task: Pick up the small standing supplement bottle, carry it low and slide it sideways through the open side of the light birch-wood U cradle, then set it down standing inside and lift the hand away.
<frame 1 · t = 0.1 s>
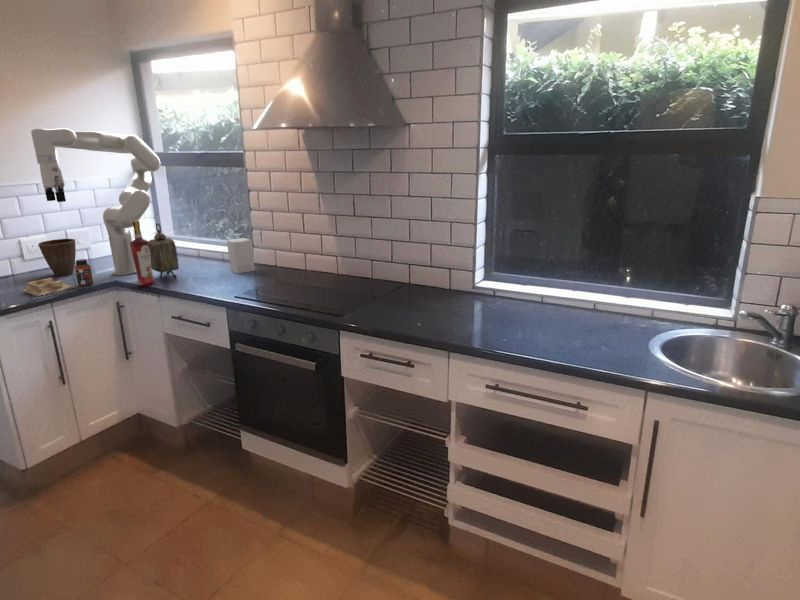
hand: (56, 201, 226), 37 cm above the worktop, tool pointing down, fingers open, 9 cm apart
liquor: (146, 285, 231), on the worktop
cradle: (48, 290, 227), on the worktop
tabletop clock: (165, 278, 243), on the worktop
supplement box: (242, 271, 252), on the worktop
plant pot: (64, 274, 255), on the worktop
supplement bottle: (86, 285, 234), on the worktop
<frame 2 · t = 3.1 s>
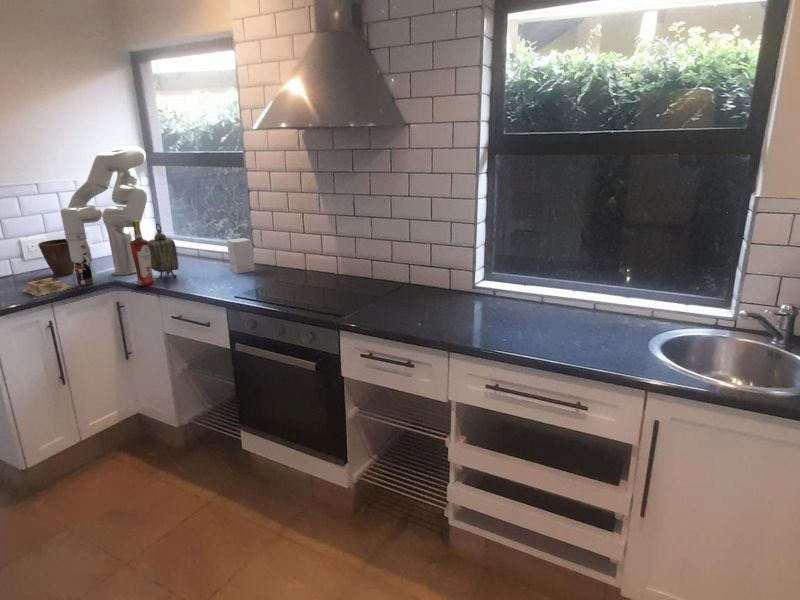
hand: (84, 277, 233), 4 cm above the worktop, tool pointing down, fingers closed on supplement bottle, 6 cm apart
supplement bottle: (86, 285, 234), on the worktop, touching gripper
everything else where it was.
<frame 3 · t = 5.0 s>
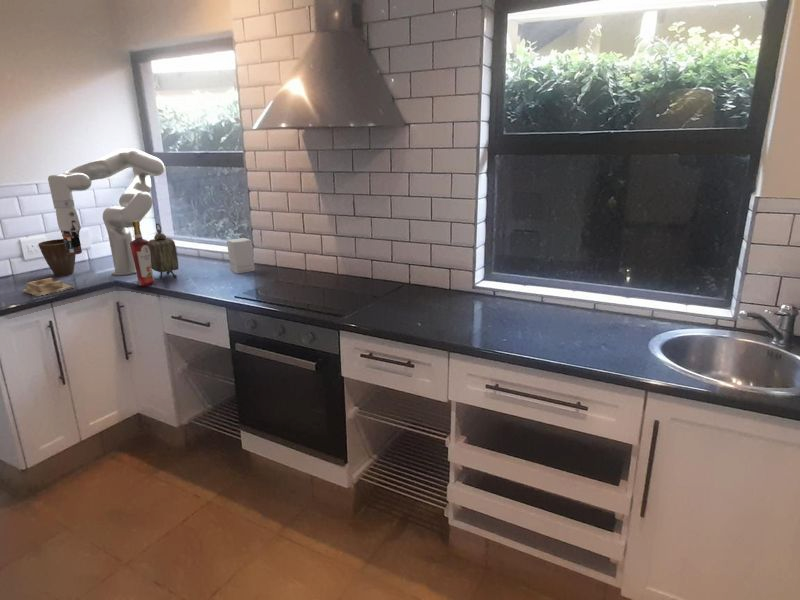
hand: (72, 245, 230), 17 cm above the worktop, tool pointing down, fingers closed on supplement bottle, 6 cm apart
supplement bottle: (74, 254, 231), point 14 cm above the worktop, touching gripper
everything else where it was.
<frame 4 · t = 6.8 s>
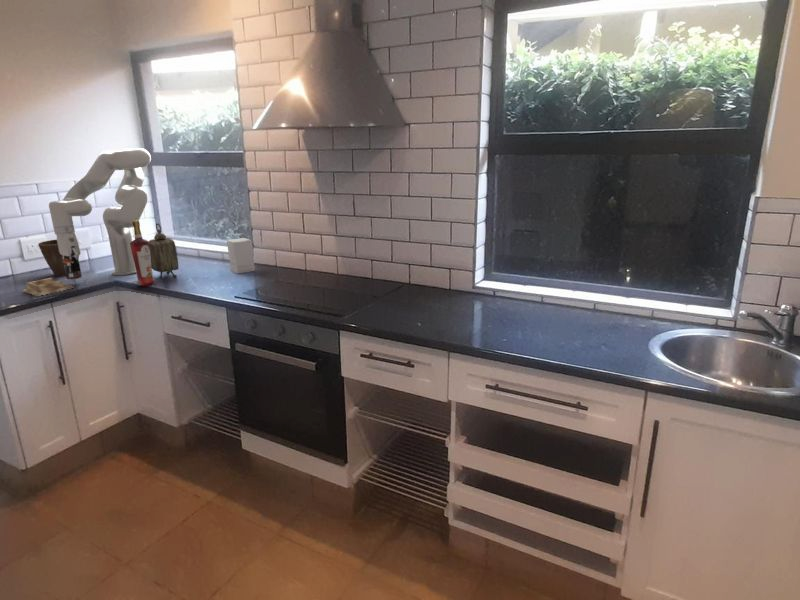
hand: (72, 270, 233), 7 cm above the worktop, tool pointing down, fingers closed on supplement bottle, 6 cm apart
supplement bottle: (74, 278, 234), point 3 cm above the worktop, touching gripper
everything else where it was.
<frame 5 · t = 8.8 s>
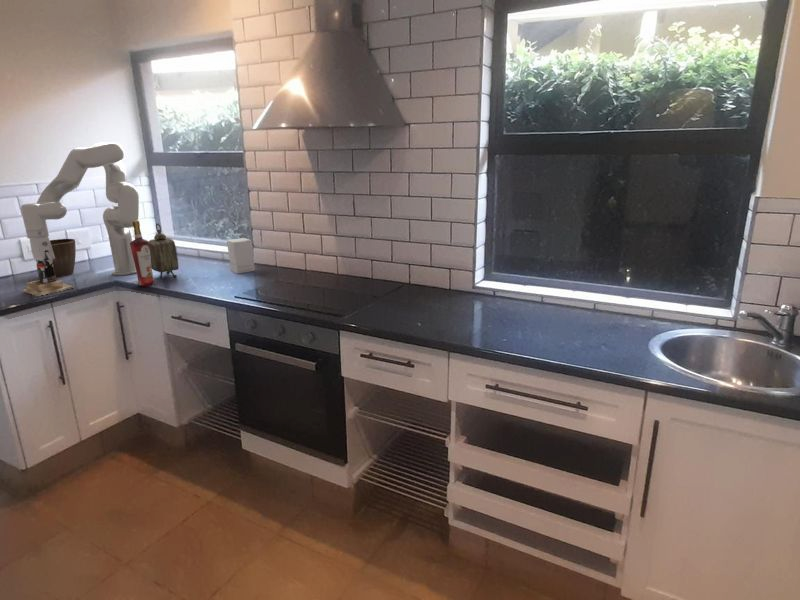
hand: (47, 275, 225), 7 cm above the worktop, tool pointing down, fingers closed on supplement bottle, 6 cm apart
supplement bottle: (49, 283, 226), point 3 cm above the worktop, touching gripper
everything else where it was.
when the fingers open (5 cm above the worktop, at t = 10.5 s): supplement bottle stays where it is, resting on cradle.
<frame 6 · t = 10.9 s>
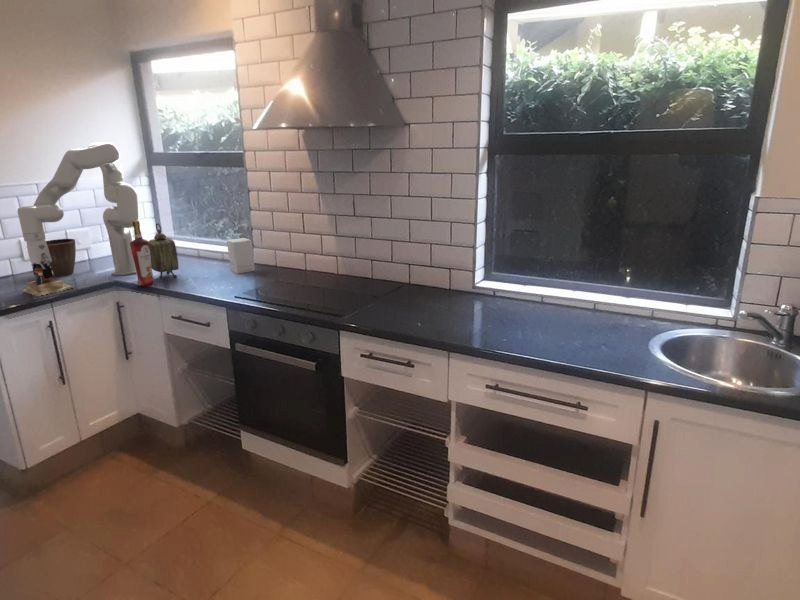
hand: (43, 276, 224), 6 cm above the worktop, tool pointing down, fingers open, 9 cm apart
supplement bottle: (46, 288, 226), point 1 cm above the worktop, touching cradle
everything else where it was.
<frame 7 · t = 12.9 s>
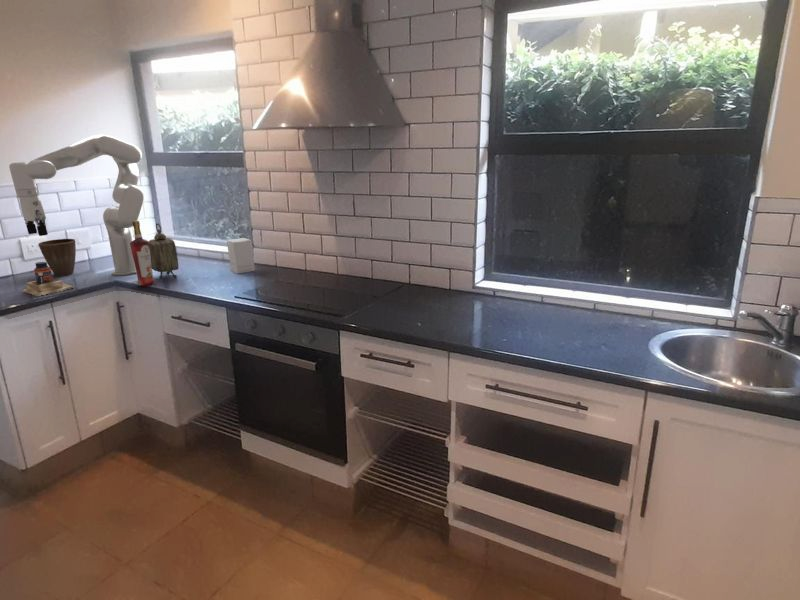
hand: (38, 234, 222), 24 cm above the worktop, tool pointing down, fingers open, 9 cm apart
nothing on the worktop moved.
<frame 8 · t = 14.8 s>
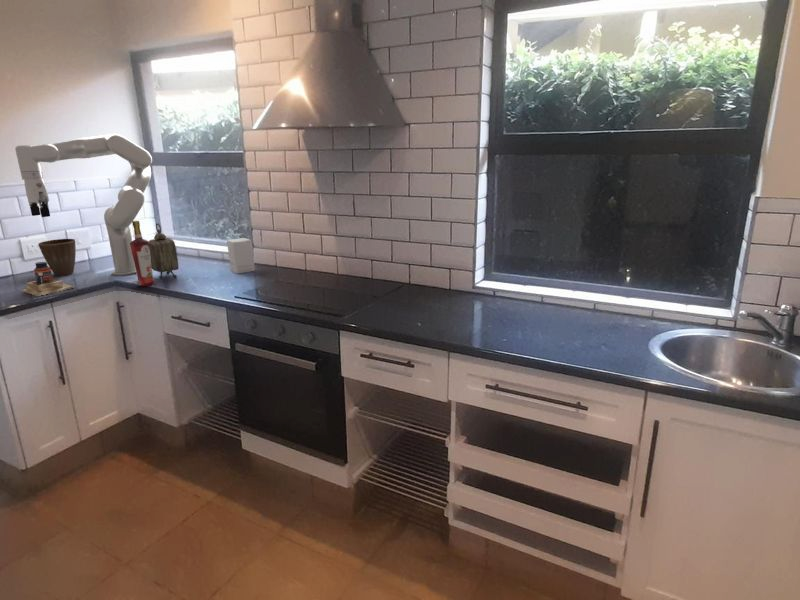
hand: (41, 216, 229), 30 cm above the worktop, tool pointing down, fingers open, 9 cm apart
nothing on the worktop moved.
at the end: supplement bottle 0.1 cm off-centre on the cradle, point 0.8 cm above the cradle's base; supplement bottle tilted 0°; the gripper is holding nothing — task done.
